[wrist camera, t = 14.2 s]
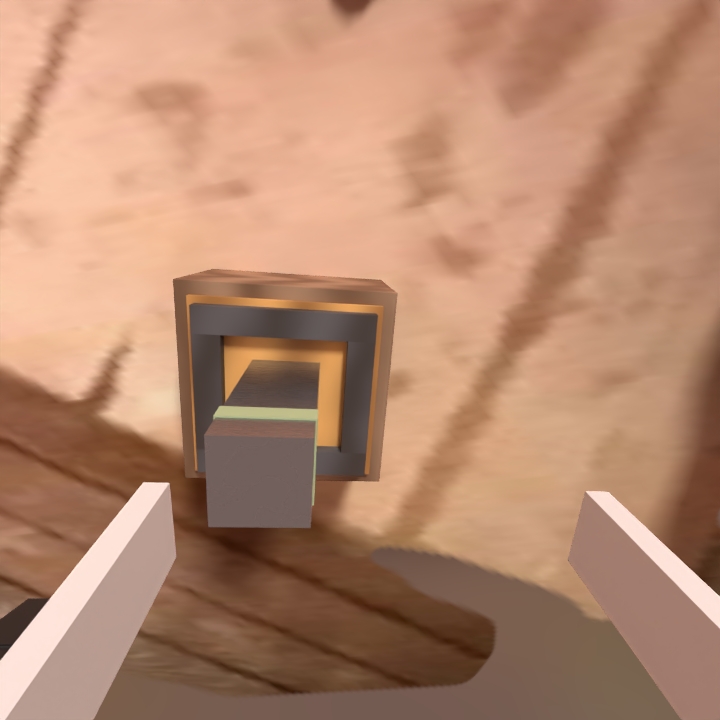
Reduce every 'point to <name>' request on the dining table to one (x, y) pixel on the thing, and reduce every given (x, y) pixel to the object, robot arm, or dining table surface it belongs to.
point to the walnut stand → (289, 356)
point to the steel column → (265, 448)
